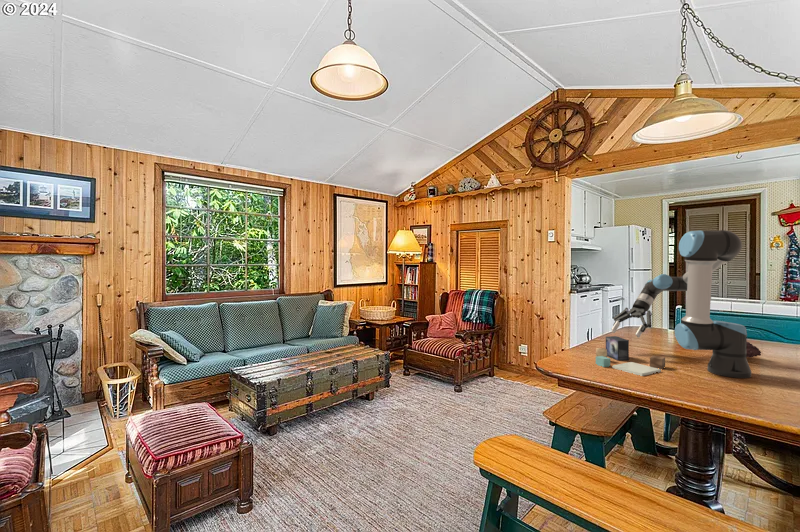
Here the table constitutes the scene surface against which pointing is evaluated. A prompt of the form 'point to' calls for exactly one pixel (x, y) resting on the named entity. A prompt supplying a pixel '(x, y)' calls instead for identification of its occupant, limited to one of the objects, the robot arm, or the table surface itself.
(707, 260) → the robot arm
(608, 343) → the small box
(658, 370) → the tile
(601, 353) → the oak cylinder
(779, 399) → the table surface
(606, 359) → the teal block
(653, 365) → the walnut block
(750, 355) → the pine cone
